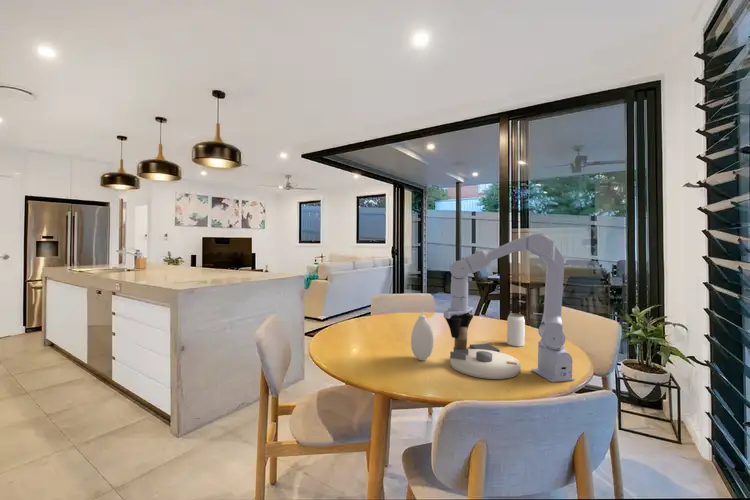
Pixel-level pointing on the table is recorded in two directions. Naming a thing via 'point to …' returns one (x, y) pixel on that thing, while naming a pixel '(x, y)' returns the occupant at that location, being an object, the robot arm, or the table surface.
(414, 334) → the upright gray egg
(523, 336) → the can
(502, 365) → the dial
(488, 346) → the mat
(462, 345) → the pin
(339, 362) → the table surface
